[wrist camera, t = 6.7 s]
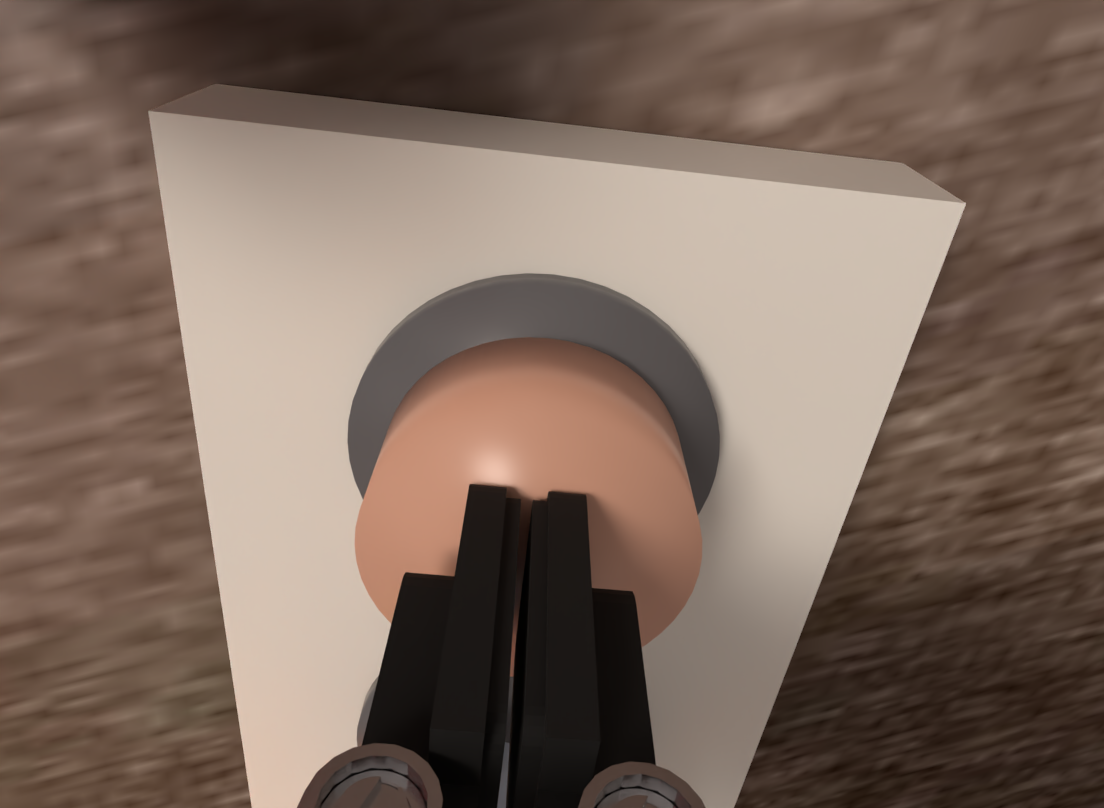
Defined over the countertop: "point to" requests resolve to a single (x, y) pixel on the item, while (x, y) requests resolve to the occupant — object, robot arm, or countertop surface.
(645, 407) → the terracotta button
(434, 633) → the robot arm
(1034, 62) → the countertop surface
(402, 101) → the countertop surface
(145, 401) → the countertop surface
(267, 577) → the button panel
